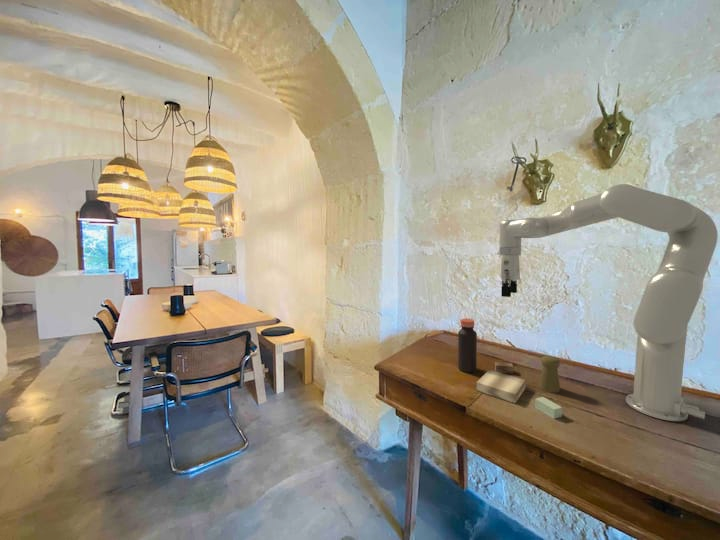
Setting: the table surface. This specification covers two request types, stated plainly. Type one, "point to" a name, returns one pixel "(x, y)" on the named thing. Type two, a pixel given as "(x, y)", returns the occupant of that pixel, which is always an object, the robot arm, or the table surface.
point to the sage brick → (548, 407)
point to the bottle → (467, 347)
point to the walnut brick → (504, 367)
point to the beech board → (501, 386)
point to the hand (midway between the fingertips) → (509, 294)
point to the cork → (550, 374)
